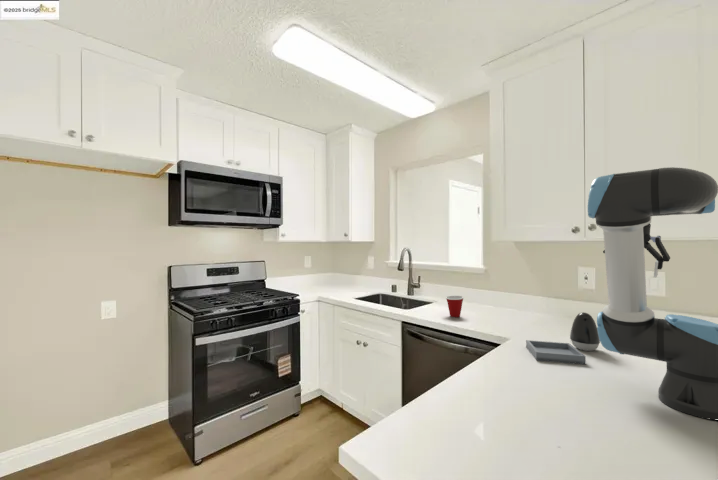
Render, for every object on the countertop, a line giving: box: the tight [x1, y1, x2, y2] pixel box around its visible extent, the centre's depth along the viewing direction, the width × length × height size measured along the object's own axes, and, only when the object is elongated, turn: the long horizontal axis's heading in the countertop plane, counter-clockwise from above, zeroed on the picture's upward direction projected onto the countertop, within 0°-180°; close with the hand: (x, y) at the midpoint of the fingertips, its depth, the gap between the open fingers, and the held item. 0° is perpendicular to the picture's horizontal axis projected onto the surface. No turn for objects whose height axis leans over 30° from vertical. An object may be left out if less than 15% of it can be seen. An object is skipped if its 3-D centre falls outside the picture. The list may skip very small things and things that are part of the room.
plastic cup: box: [445, 295, 465, 318], centre depth 194 cm, size 11×11×12 cm
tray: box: [525, 339, 587, 365], centre depth 125 cm, size 16×16×3 cm
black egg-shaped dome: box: [569, 312, 601, 352], centre depth 132 cm, size 10×10×15 cm
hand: (633, 272), depth 129 cm, fingers open, 13 cm apart
